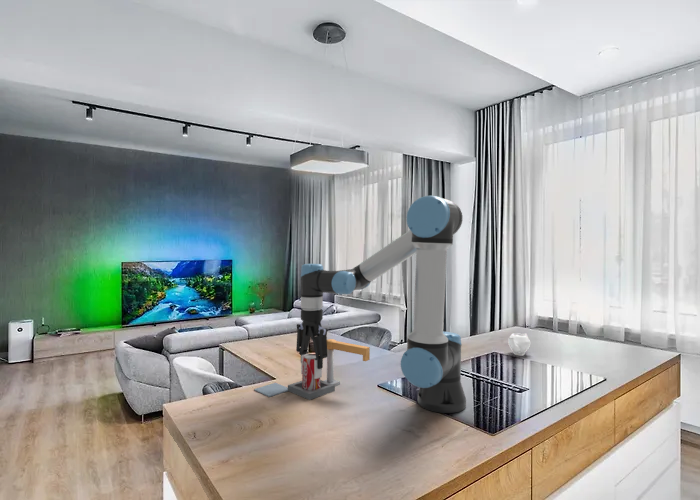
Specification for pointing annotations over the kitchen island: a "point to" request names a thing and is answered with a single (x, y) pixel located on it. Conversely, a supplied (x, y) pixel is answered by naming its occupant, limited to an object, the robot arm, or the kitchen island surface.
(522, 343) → the white rounded lump
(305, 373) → the beverage can
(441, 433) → the kitchen island surface
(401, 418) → the kitchen island surface
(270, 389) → the rubber mat
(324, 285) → the robot arm
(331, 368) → the square ring with handle
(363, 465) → the kitchen island surface
